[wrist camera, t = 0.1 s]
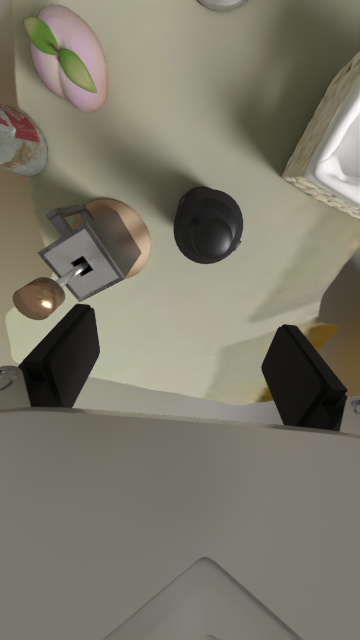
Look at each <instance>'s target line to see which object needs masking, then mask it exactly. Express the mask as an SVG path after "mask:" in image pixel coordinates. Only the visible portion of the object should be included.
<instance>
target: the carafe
mask: <svg viewBox="0 0 360 640" xmlns="http://www.w3.org/2000/svg"><path fill="white" fill-rule="evenodd" d="M74 214H79V215H80V217H81V218H82V220H83V221H84V223H83V224H82V225H80V226H78V227H77V228H75V229H74V230H72V229H71V227H70V226H69V224H68V223H67V222H66V220H65V219H64V218H63V217H66V216H70V215H74ZM46 216H47V217H48V219H49V220H50V221H51V223H52V224H53V225H54V226H55V228H56V229H57V230H58V232H59V233H60V234H61V236H62V237H61V238H60V239H58V240H57V241H55V242H53V243H52V244H50V245H49V246H47V247H46V248H44V249H43V250H41V251H40V252H38V254H39V255H40V256H41V258H42V259H43V260H44V261H45V262H46V263H47V265H48V266H49V267H50V268H51V269H52V270H53V272H54V273H55V274H56V275H57V276H58V277H59V278H61V277H62V276H63V275H65V274H66V273H67V272H69V271H70V270H72V269H73V268H74V267H76V266H77V265H78V264H80V263H81V262H83V260H82V258H81V256H84V258H85V259H86V260H87V262H88V263H89V264H90V266H91V267H92V268H93V269H91V268H90V267H87V268H85V269H84V270H83V271H82V272H81V273H79V274H78V275H77V276H76V277H74V278H73V279H72V280H71V281H70V282H68V283H67V284H66V285H65V286H66V287H67V288H68V289H69V290H70V291H71V293H72V294H73V295H74V296H75V297H76V298H77V300H78V301H79V302H81V301H83V300H85V299H87V298H89V297H91V296H93V295H95V294H97V293H99V292H100V291H102V290H104V289H106V288H108V287H110V286H112V285H114V284H116V283H118V282H120V281H122V280H124V279H125V277H126V276H127V274H128V273H129V271H130V270H131V268H132V267H133V265H134V264H135V262H136V261H137V259H138V258H139V256H140V255H141V251H140V249H139V248H138V246H137V244H136V242H135V241H134V239H133V237H132V236H131V234H130V232H129V231H128V229H127V227H126V226H125V224H124V222H123V221H122V219H121V217H120V216H119V214H118V212H117V211H115V212H112V213H110V214H107V215H104V216H101V217H98V218H96V219H93V217H92V215H91V214H90V212H89V211H88V209H87V208H86V206H85V205H84V204H81V205H76V206H70V207H64V208H58V209H54V210H52V211H51V212H49V213H48V214H47V215H46Z"/></svg>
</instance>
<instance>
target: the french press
mask: <svg viewBox="0 0 360 640" xmlns="http://www.w3.org/2000/svg"><path fill="white" fill-rule="evenodd" d="M242 231H243V218H242V213H241V210H240V208H239V206H238V204H237V203H236V201H235V200H234V199H233V198H232V197H231V196H229V195H228V194H226V193H224V192H222V191H219V190H213V189H210V188H207V187H196V188H194V189H191V190H190V191H188V192H187V193H186V194H185V195H184V196H183V197H182V199H181V200H180V203H179V205H178V209H177V214H176V217H175V221H174V237H175V241H176V244H177V246H178V248H179V249H180V251H181V252H182V253H183V254H184V256H186V257H187V258H188V259H190V260H192V261H194V262H197V263H200V264H211V263H215V262H219V261H221V260H223V259H224V258H226V257H227V256H228V255H230V254H231V253H232V252H233V251H235V250H236V248H237V247H238V245H239V244H240V243H241V241H240V238H241V236H242Z"/></svg>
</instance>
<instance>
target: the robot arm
mask: <svg viewBox="0 0 360 640" xmlns="http://www.w3.org/2000/svg"><path fill="white" fill-rule="evenodd" d="M198 1H199V2H200V3H201V4H202V5H204V6H206V7H208V8H209V9H211V10H215V11H229V10H232V9H234V8H237V7H239V6H240V5H242V4H243V3H244V2H246V1H247V0H198ZM99 353H100V347H99V340H98V333H97V326H96V319H95V312H94V309H93V308H91V307H90V305H86V304H76V305H75V306H74V307H73V308H72V309H71V310H70V311H69V312H68V313H67V314H66V315H65V316H64V317H63V318H62V320H61V321H60V322H59V323H58V324H57V325H56V326H55V327H54V328H53V329H52V330H51V331H50V332H49V333H48V334H47V336H46V337H45V338H44V339H43V340H42V341H41V342H40V343H39V344H38V345H37V346H36V347H35V348H34V349H33V350H32V352H31V353H30V354H29V355H28V356H27V357H26V358H25V359H24V360H23V362H22V363H21V364H20V365H19V366H18V367H16V366H2V367H0V640H360V397H356V396H355V397H354V396H351V397H349V398H347V396H346V395H345V393H346V392H347V389H346V388H345V386H344V385H343V384H342V383H341V381H340V380H339V379H338V378H337V376H336V375H335V374H334V372H333V371H332V370H331V369H330V367H329V366H328V365H327V364H326V363H325V361H324V360H323V359H322V357H321V356H320V355H319V354H318V352H317V351H316V350H315V348H314V347H313V346H312V345H311V343H310V342H309V341H308V340H307V338H306V337H305V336H304V335H303V333H302V332H301V331H300V330H299V328H298V327H297V326H295V325H286V324H284V325H282V326H281V327H279V328H278V329H277V331H276V334H275V336H274V338H273V341H272V343H271V345H270V347H269V350H268V352H267V354H266V357H265V359H264V361H263V363H262V372H263V375H264V377H265V380H266V382H267V385H268V387H269V390H270V392H271V394H272V397H273V399H274V402H275V404H276V406H277V409H278V411H279V414H280V416H281V419H282V421H283V424H284V425H275V424H264V423H253V422H241V421H229V420H217V419H206V418H195V417H182V416H170V415H158V414H145V413H133V412H120V411H106V410H93V409H77V408H76V409H75V408H72V407H73V405H74V403H75V401H76V399H77V397H78V395H79V393H80V391H81V390H82V387H83V386H84V384H85V382H86V380H87V378H88V376H89V374H90V372H91V370H92V368H93V366H94V364H95V362H96V360H97V359H98V357H99Z"/></svg>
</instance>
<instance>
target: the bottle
mask: <svg viewBox="0 0 360 640" xmlns="http://www.w3.org/2000/svg"><path fill="white" fill-rule="evenodd" d="M47 158H48V147H47V144H46V140H45V138H44V135H43V133H42V132H41V130H40V129H39V127H38V126H37V125H36V123H35V122H34V121H33V120H32V119H31V118H30V117H29V116H28V115H27V114H26V113H24V112H23V111H21V110H19V109H17V108H15V107H11V106H8V105H2V104H0V168H2V169H6V170H9V171H12V172H14V173H17V174H20V175H23V176H34V175H37V174H38V173H40V172H41V171H42V170H43V169H44V167H45V166H46V163H47Z"/></svg>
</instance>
